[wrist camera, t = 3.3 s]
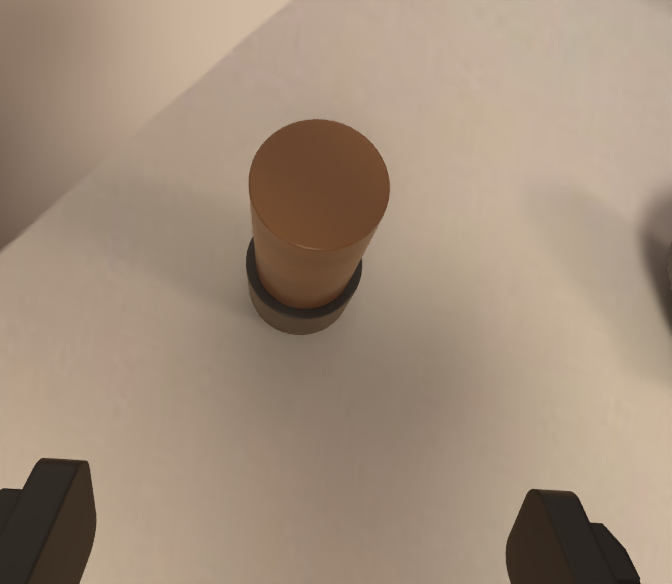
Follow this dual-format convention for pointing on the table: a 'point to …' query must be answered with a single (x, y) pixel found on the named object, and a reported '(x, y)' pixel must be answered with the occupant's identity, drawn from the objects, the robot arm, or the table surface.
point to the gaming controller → (670, 266)
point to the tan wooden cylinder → (312, 222)
